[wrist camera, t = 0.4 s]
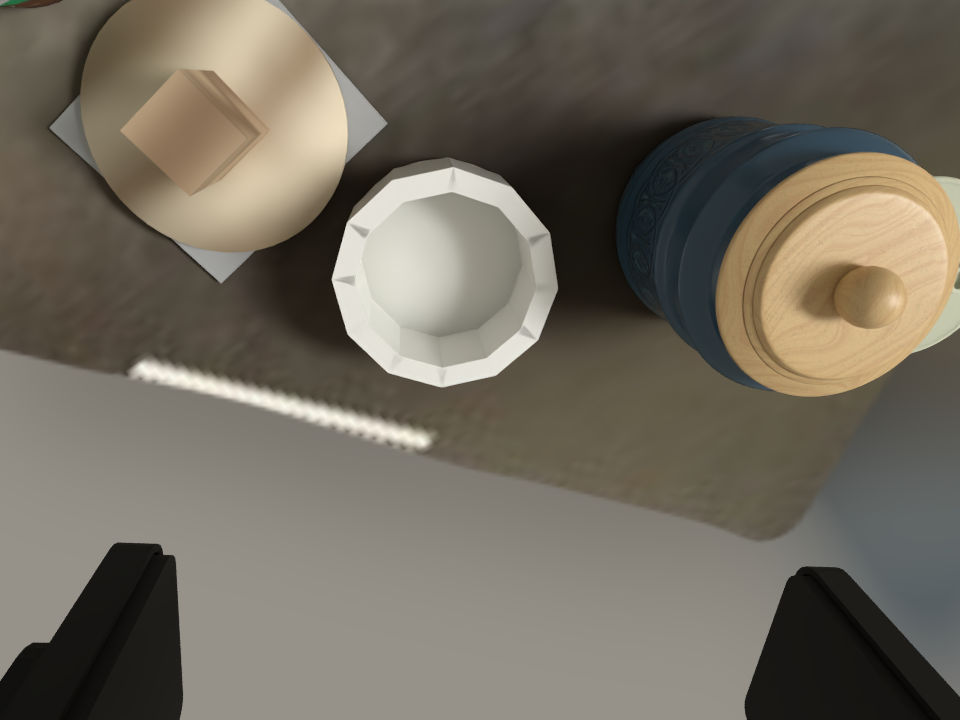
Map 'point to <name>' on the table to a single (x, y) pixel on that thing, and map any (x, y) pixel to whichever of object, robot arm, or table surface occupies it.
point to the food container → (27, 3)
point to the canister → (789, 250)
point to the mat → (222, 265)
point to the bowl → (444, 273)
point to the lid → (214, 120)
